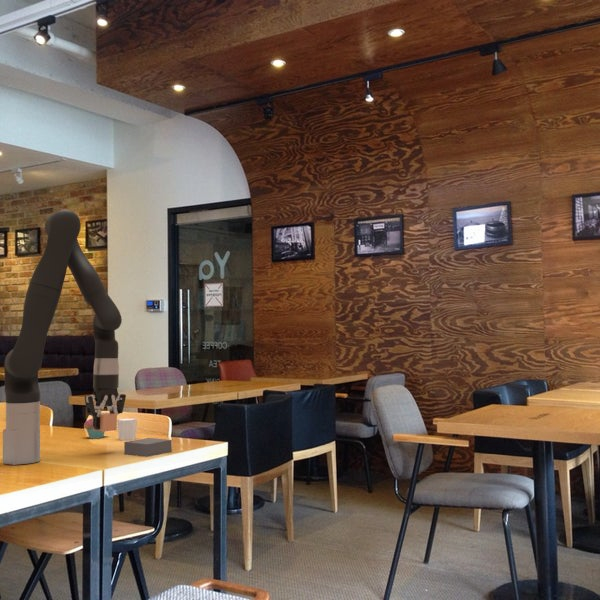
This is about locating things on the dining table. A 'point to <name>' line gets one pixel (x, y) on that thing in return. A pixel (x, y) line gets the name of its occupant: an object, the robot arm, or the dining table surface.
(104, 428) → the terracotta cube
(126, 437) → the light grey piece
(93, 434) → the cupcake
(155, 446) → the charcoal block
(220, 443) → the dining table surface
